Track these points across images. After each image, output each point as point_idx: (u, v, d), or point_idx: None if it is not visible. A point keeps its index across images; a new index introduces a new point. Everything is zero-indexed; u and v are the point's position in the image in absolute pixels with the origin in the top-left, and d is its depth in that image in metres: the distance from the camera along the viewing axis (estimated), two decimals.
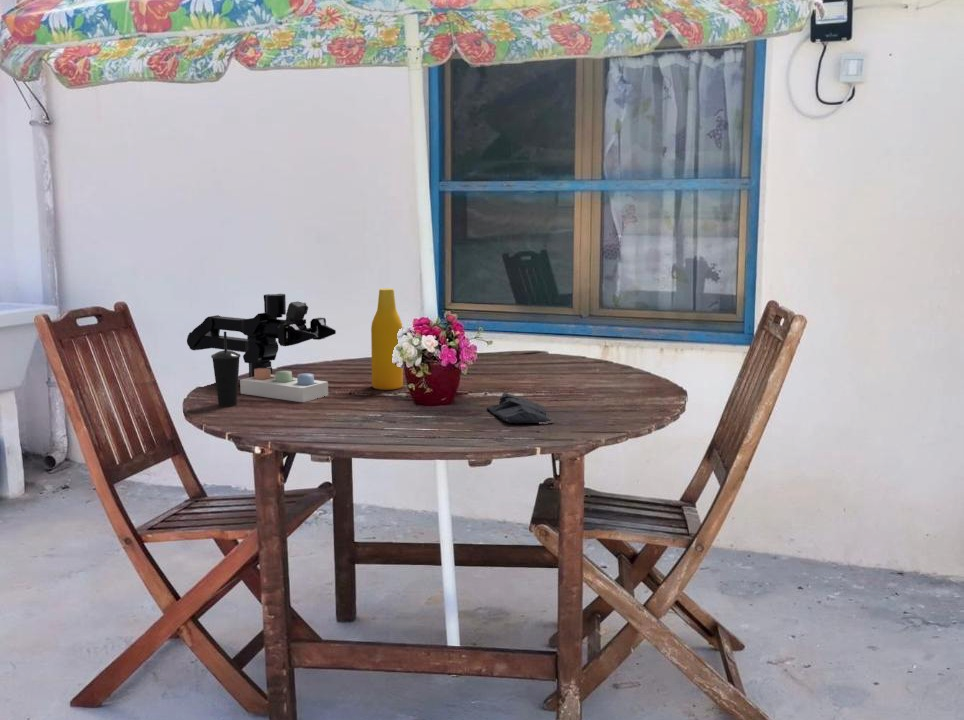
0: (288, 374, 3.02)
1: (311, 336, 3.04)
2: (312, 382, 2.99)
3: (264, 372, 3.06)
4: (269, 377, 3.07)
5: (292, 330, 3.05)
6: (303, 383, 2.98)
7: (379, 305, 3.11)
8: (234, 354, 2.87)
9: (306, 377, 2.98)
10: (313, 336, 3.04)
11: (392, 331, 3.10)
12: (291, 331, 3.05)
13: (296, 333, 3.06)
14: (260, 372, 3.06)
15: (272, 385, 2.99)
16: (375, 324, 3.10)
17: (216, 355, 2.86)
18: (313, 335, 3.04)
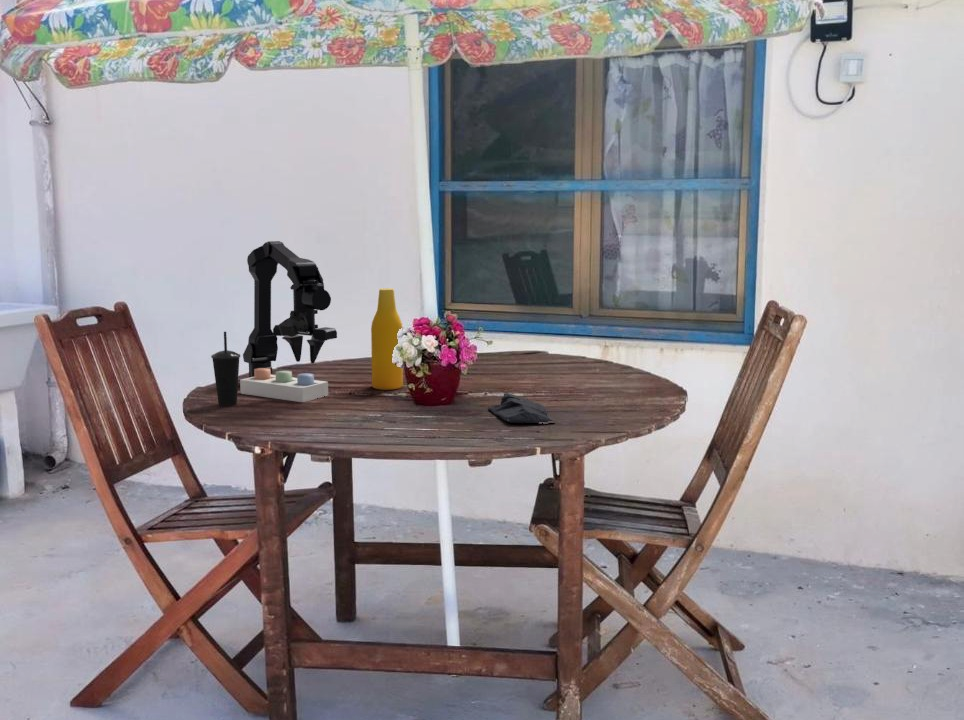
0: (288, 374, 3.02)
1: None
2: (312, 382, 2.99)
3: (264, 372, 3.06)
4: (269, 377, 3.07)
5: None
6: (303, 383, 2.98)
7: (379, 305, 3.11)
8: (234, 354, 2.87)
9: (306, 377, 2.98)
10: None
11: (392, 331, 3.10)
12: None
13: None
14: (260, 372, 3.06)
15: (272, 385, 2.99)
16: (375, 324, 3.10)
17: (216, 355, 2.86)
18: None
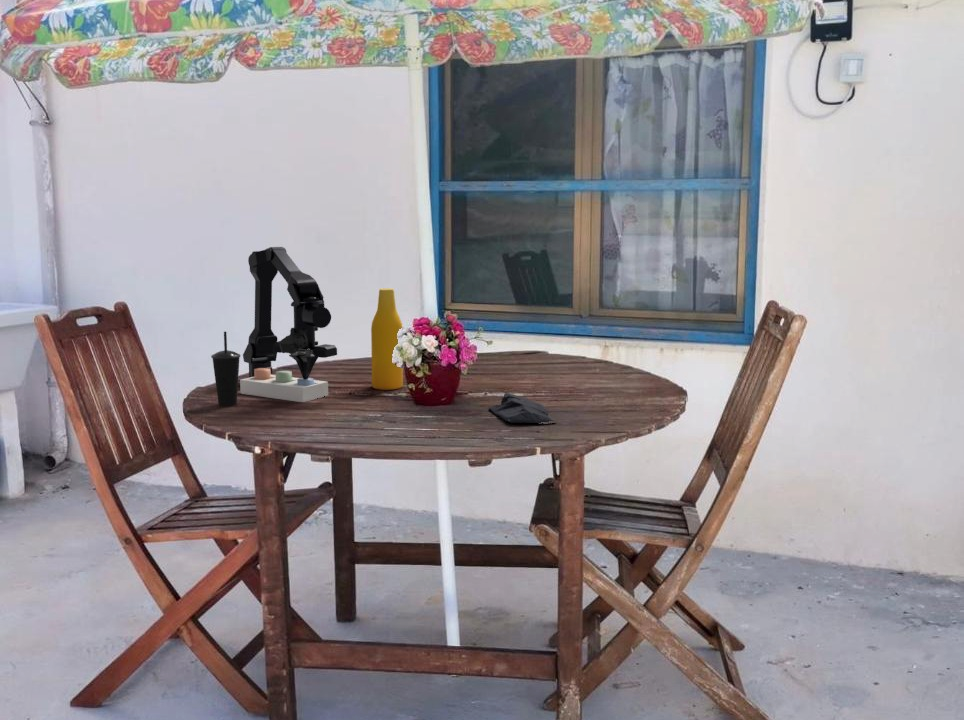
0: (288, 374, 3.02)
1: None
2: None
3: (264, 372, 3.06)
4: (269, 377, 3.07)
5: None
6: None
7: (379, 305, 3.11)
8: (234, 354, 2.87)
9: (306, 381, 2.98)
10: None
11: (392, 331, 3.10)
12: None
13: None
14: (260, 372, 3.06)
15: (272, 385, 2.99)
16: (375, 324, 3.10)
17: (216, 355, 2.86)
18: None
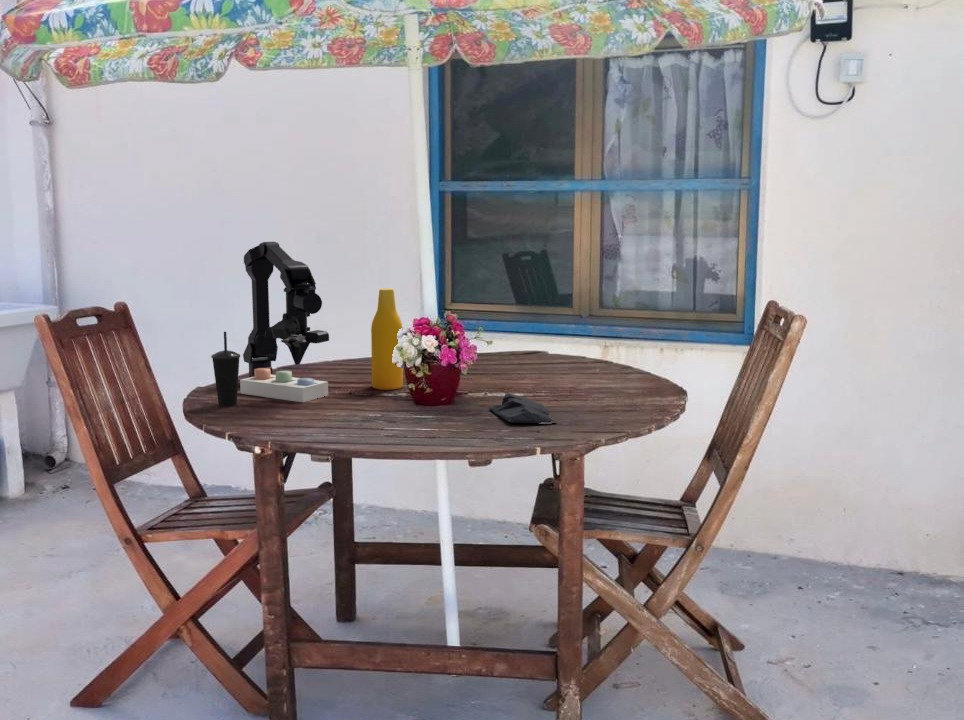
0: (288, 374, 3.02)
1: None
2: None
3: (264, 372, 3.06)
4: (269, 377, 3.07)
5: None
6: None
7: (379, 305, 3.11)
8: (234, 354, 2.87)
9: (306, 382, 2.98)
10: None
11: (392, 331, 3.10)
12: None
13: None
14: (260, 372, 3.06)
15: (272, 385, 2.99)
16: (375, 324, 3.10)
17: (216, 355, 2.86)
18: None
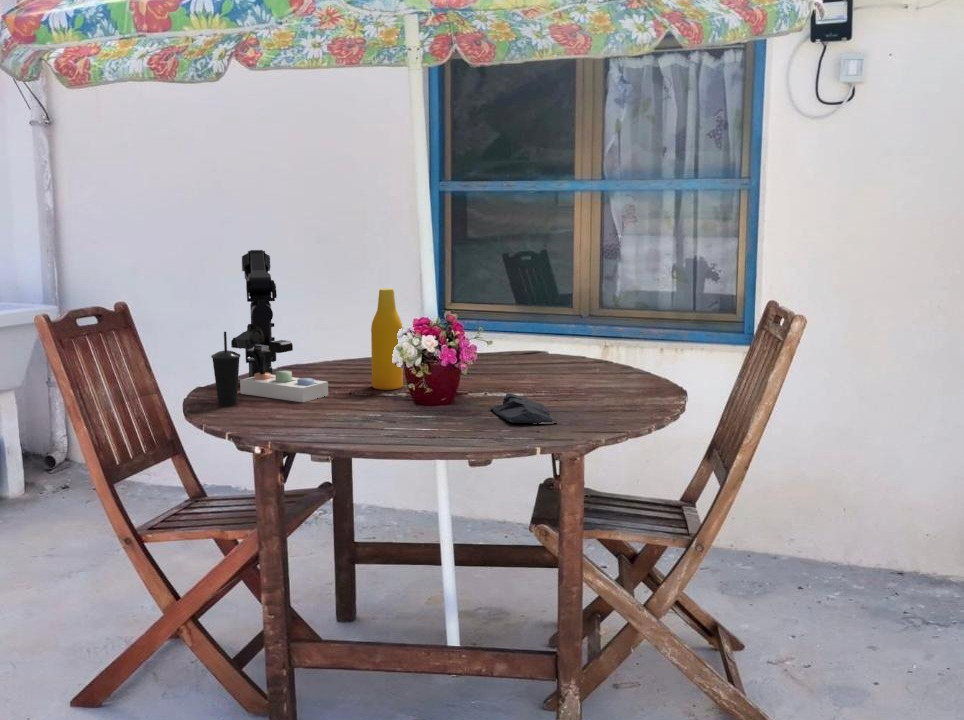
0: (288, 374, 3.02)
1: None
2: None
3: (264, 377, 3.06)
4: None
5: None
6: None
7: (379, 305, 3.11)
8: (234, 354, 2.87)
9: (306, 382, 2.98)
10: None
11: (392, 331, 3.10)
12: None
13: None
14: (260, 377, 3.06)
15: (272, 385, 2.99)
16: (375, 324, 3.10)
17: (216, 355, 2.86)
18: None
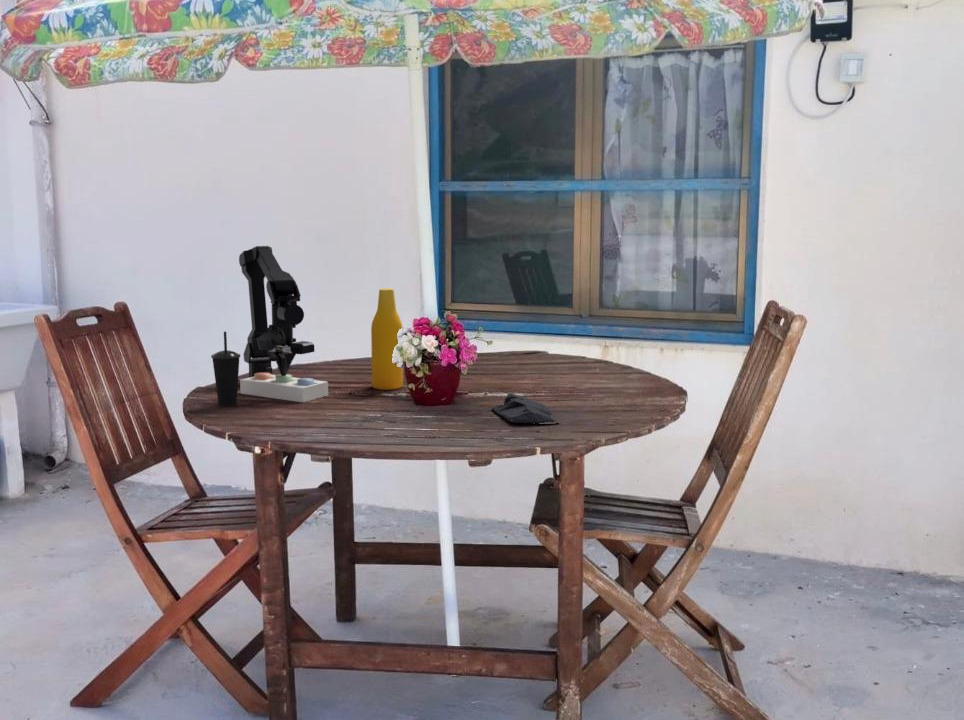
0: (288, 378, 3.02)
1: None
2: None
3: (264, 377, 3.06)
4: None
5: None
6: None
7: (379, 305, 3.11)
8: (234, 354, 2.87)
9: (306, 382, 2.98)
10: None
11: (392, 331, 3.10)
12: None
13: None
14: (260, 377, 3.06)
15: (272, 385, 2.99)
16: (375, 324, 3.10)
17: (216, 355, 2.86)
18: None
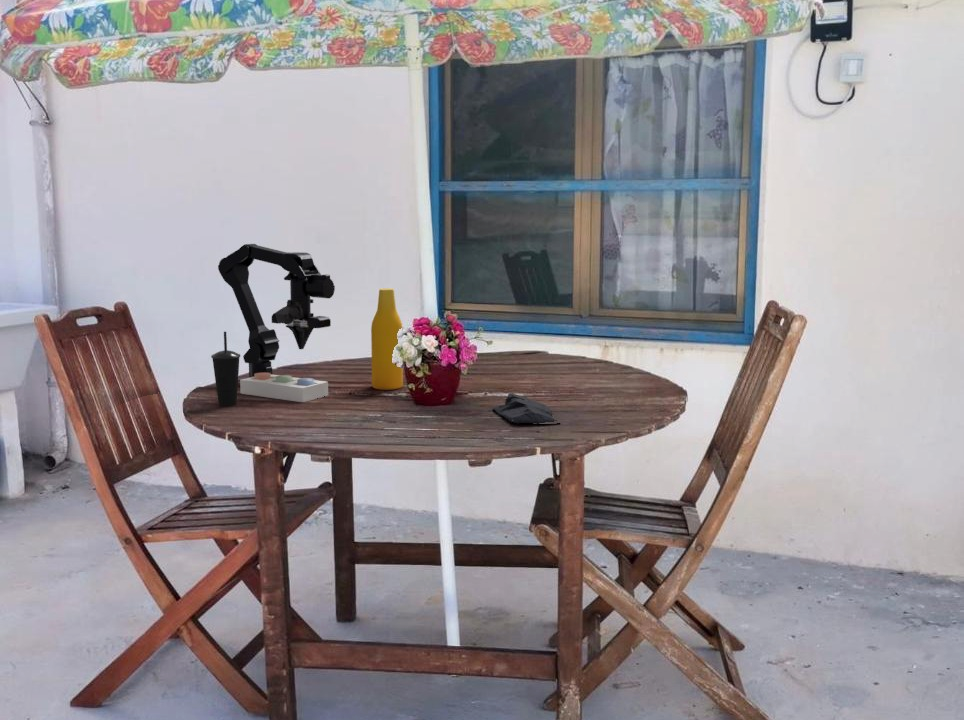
0: (288, 379, 3.02)
1: None
2: None
3: (264, 377, 3.06)
4: None
5: None
6: None
7: (379, 305, 3.11)
8: (234, 354, 2.87)
9: (306, 382, 2.98)
10: None
11: (392, 331, 3.10)
12: None
13: None
14: (260, 377, 3.06)
15: (272, 385, 2.99)
16: (375, 324, 3.10)
17: (216, 355, 2.86)
18: None
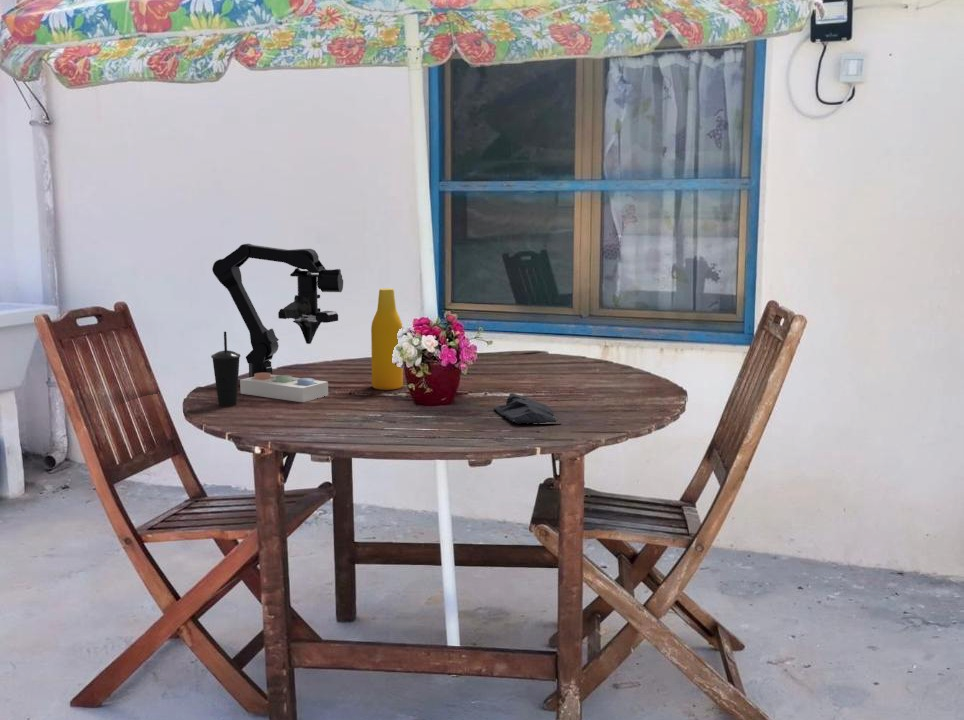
0: (288, 379, 3.02)
1: None
2: None
3: (264, 377, 3.06)
4: None
5: None
6: None
7: (379, 305, 3.11)
8: (234, 354, 2.87)
9: (306, 382, 2.98)
10: None
11: (392, 331, 3.10)
12: None
13: None
14: (260, 377, 3.06)
15: (272, 385, 2.99)
16: (375, 324, 3.10)
17: (216, 355, 2.86)
18: None
